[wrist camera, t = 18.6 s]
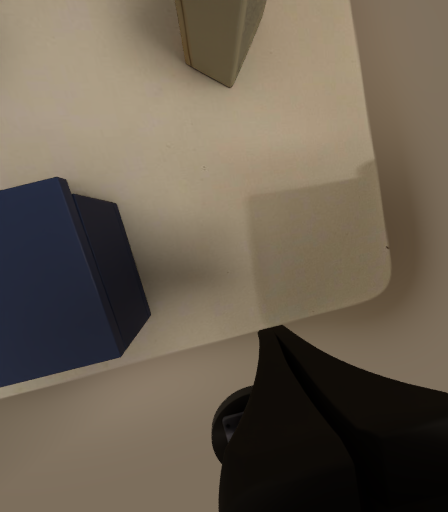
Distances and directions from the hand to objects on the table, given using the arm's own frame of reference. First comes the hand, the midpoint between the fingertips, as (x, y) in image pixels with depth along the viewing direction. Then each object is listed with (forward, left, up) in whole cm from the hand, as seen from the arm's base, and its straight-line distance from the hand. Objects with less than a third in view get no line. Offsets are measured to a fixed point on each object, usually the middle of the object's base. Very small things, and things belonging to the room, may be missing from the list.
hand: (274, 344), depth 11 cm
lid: (+6, +15, -4) cm, 17 cm away
